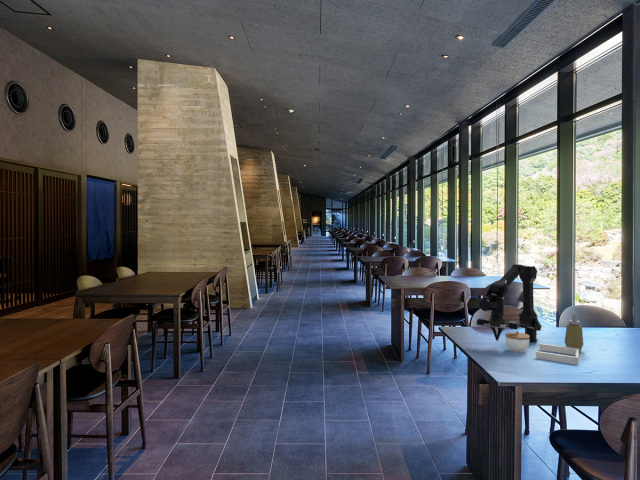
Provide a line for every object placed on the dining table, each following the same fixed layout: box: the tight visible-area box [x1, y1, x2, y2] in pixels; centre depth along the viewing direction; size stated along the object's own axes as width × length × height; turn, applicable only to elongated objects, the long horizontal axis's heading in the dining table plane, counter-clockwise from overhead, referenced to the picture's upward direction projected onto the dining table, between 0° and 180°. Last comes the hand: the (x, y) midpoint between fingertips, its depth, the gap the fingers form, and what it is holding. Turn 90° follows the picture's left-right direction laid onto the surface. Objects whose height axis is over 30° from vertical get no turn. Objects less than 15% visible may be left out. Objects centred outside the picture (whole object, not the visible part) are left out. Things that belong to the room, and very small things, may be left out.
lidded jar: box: [504, 330, 530, 353], centre depth 209 cm, size 11×11×9 cm
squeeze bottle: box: [564, 312, 584, 352], centre depth 210 cm, size 8×8×18 cm
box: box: [535, 343, 580, 366], centre depth 199 cm, size 17×16×3 cm
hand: (497, 340), depth 214 cm, fingers closed
